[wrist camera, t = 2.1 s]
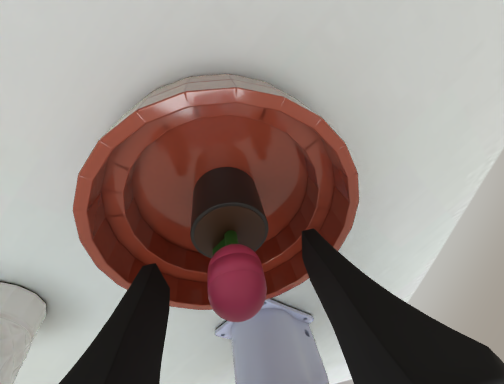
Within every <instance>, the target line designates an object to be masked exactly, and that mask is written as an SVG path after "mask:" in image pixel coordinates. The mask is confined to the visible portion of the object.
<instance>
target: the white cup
mask: <svg viewBox="0 0 504 384" xmlns="http://www.w3.org/2000/svg"><path fill="white" fill-rule="evenodd" d="M45 316H46V304H45V302H44V301H43V300H42V299H41V298H40V297H39V296H38V295H37V294H35V293H33V292H31V291H29V290H26V289H24V288H22V287H20V286H17V285H12V284H7V283H2V282H0V384H13V383H14V381H15V379H16V376H17V374H18V372H19V369H20V368H21V366H22V364H23V362H24V360H25V359H26V356H27V354H28V352H29V349H30V346H31V343H32V341H33V339H34V338H35V336H36V334H37V332H38V330H39V328H40V326H41V324H42V322H43V320H44V318H45Z"/></svg>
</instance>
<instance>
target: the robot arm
mask: <svg viewBox="0 0 504 384" xmlns="http://www.w3.org/2000/svg"><path fill="white" fill-rule="evenodd" d="M302 259H303V262H304V265H305V268H306V271H307V273H308V276H309V278H310V281H311V283H312V285H313V287H314V289H315V291H316V293H317V295H318V297H319V299H320V301H321V303H322V305H323V307H324V309H325V311H326V313H327V316H328V318H329V320H330V322H331V324H332V326H333V329H334V331H335V334H336V336H337V339H338V341H339V344H340V347H341V349H342V352H343V355H344V357H345V360H346V363H347V365H348V368H349V371H350V374H351V376H352V379H353V382H354V384H504V363H503V362H502V361H501V360H500V358H499V357H498V356H496V355H495V354H494V353H493V352H492V351H491V350H490V349H489V347H487V346H485V345H483V344H481V343H479V342H477V341H475V340H473V339H471V338H469V337H467V336H465V335H463V334H461V333H459V332H457V331H455V330H453V329H451V328H449V327H447V326H446V325H444V324H442V323H440V322H438V321H436V320H435V319H433V318H431V317H429V316H428V315H426V314H424V313H423V312H420V311H419V310H418V309H416V308H414V307H412V306H411V305H409V304H408V303H406V302H404V301H403V300H401V299H399V298H398V297H396V296H395V295H393V294H392V293H390V292H389V291H387V290H386V289H384V288H383V287H382V286H380V285H379V284H377V283H376V282H375V281H373V280H372V279H371V278H369V277H368V276H367V275H365V274H364V273H363V272H362V271H360V270H359V269H358V268H357V267H355V266H354V265H353V264H352V263H351V262H349V261H348V260H347V259H346V258H345V257H344V256H343V255H341V254H340V253H339V252H338V251H337V250H336V249H335V248H334V247H333V246H332V245H330V244H329V243H328V242H327V241H326V240H325V239H324V238H323V237H322V236H321V235H320V234H319V233H318V232H317V231H316V230H315V229H314V228H313V229H308V230H304V231H302ZM169 304H170V287H169V285H168V284H167V282H166V280H165V279H164V277H163V275H162V273H161V272H160V270H159V268H158V266H157V265H156V263H154V264H149V265H144V266H142V268H141V269H140V271H139V272H138V274H137V276H136V277H135V279H134V280H133V282H132V284H131V285H130V287H129V289H128V290H127V292H126V293H125V295H124V297H123V298H122V300H121V301H120V303H119V304H118V306H117V307H116V309H115V311H114V312H113V314H112V315H111V317H110V318H109V320H108V321H107V322H106V324H105V325H104V327H103V328H102V330H101V331H100V332H99V334H98V335H97V337H96V338H95V339H94V341H93V342H92V343H91V345H90V346H89V347H88V349H87V350H86V351H85V353H84V354H83V355H82V356H81V358H80V359H79V360H78V361H77V363H76V364H75V365H74V366H73V368H72V369H71V370H70V371H69V372H68V374H67V375H66V376H65V377H64V378H63V379H62V381H61V382H60V383H59V384H159V381H160V369H161V360H162V354H163V348H164V341H165V335H166V328H167V322H168V315H169ZM313 320H314V318H313V316H311V315H309V314H306V313H304V312H301V311H299V310H296V309H294V308H291V307H288V306H286V305H283V304H281V303H278V302H276V301H273V300H271V299H267V300H265V302H264V304H263V306H262V308H261V309H260V311H259V312H258V313H257V314H256V315H255V316H254V317H252V318H251V319H249V320H246V321H243V322H230V321H226V322H225V323H224V324H223V325H221V326H220V327H219V328H218V329H216V330H215V335H216V336H219V337H223V338H227V339H231V340H232V349H233V360H234V372H235V383H236V384H329V381H328V377H327V373H326V371H325V368H324V365H323V362H322V359H321V357H320V354H319V351H318V348H317V345H316V343H315V340H314V337H313V334H312V331H311V329H310V326H309V323H311V322H312V321H313Z"/></svg>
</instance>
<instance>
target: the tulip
mask: <svg viewBox="0 0 504 384" xmlns="http://www.w3.org/2000/svg"><path fill="white" fill-rule="evenodd" d="M268 229H269V227H268V222H267V219H266V216H265V213H264V210H263V207H262V204H261V201H260V198H259V195H258V192H257V189H256V186H255V183H254V181H253V179H252V178H251V177H250V176H249V175H248V174H247V173H245V172H244V171H242V170H240V169H237V168H232V167H220V168H216V169H213V170H210V171H208V172H207V173H205V174H204V175H203V176H202V177H201V178H200V179H199V180H198V181H197V183H196V185H195V187H194V191H193V203H192V217H191V230H190V237H191V241H192V244H193V245H194V247H195V248H196V249H197V250H198V251H199V252H200V253H201V254H203V255H204V256H206V257H209V258H211V260H210V263H209V266H208V272H207V289H208V299H209V302H210V305H211V307H212V308H213V310H214V311H215V313H216V314H217V315H219V316H220V317H221V318H223V319H225V320H227V321H230V322H243V321H246V320H249V319H251V318H252V317H254V316H255V315H256V314H257V313H258V312H259V311H260V309H261V308H262V306H263V304H264V302H265V299H266V293H267V286H266V280H265V276H264V272H263V268H262V264H261V261H260V259H259V257H258V256H257V254H256V253H255V251H256V250H257V249H259V248H260V247H261V246H262V244H263V243H264V241H265V240H266V238H267V235H268Z"/></svg>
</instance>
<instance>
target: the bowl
mask: <svg viewBox="0 0 504 384" xmlns="http://www.w3.org/2000/svg"><path fill="white" fill-rule="evenodd" d="M220 167H232V168H237V169H240V170H242V171H244V172H245V173H247V174H248V175H249V176H250V177H251V178H252V179H253V181H254V183H255V186H256V189H257V192H258V195H259V198H260V201H261V204H262V207H263V210H264V213H265V216H266V219H267V222H268V227H269V229H268V235H267V238H266V240H265V241H264V243H263V244H262V246H261V247H260V248H259V249H257V250H256V251H255V253H256V254H257V256H258V257H259V259H260V261H261V264H262V268H263V272H264V276H265V280H266V286H267V293H266V299H265V300H267V299H270V298H273V297H276V296H278V295H280V294H282V293H284V292H286V291H288V290H290V289H292V288H294V287H296V286H298V285H300V284H301V283H303V282H304V281H306V280H307V279H308V278H309V276H308V273H307V271H306V268H305V265H304V262H303V259H302V231H304V230H308V229H313V228H314V229H315V230H316V231H317V232H318V233H319V234H320V235H321V236H322V237H323V238H324V239H325V240H326V241H327V242H328V243H329V244H330V245H332V246H333V247H334V248H335V249H336V250H337V251H338V250H339V249H340V248H341V246H342V244H343V242H344V241H345V239H346V237H347V235H348V233H349V232H350V230H351V228H352V226H353V222H354V218H355V215H356V211H357V207H358V203H359V189H358V173H357V170H356V167H355V165H354V163H353V160H352V158H351V155H350V153H349V151H348V148H347V146H346V144H345V142H344V141H343V140H342V139H341V138H340V137H339V136H338V135H337V134H336V132H335V131H334V130H333V129H332V128H331V127H330V126H329V125H328V124H327V123H326V122H325V120H324V119H323V118H322V117H320V116H319V115H318V114H316V113H315V112H313V111H312V110H311V109H309V108H308V107H306V106H305V105H304V104H302V103H301V102H299V101H298V100H297V99H295V98H294V97H292V96H290V95H288V94H286V93H285V92H283V91H281V90H279V89H277V88H276V87H274V86H272V85H270V84H269V83H267V82H264V81H260V80H256V79H251V78H246V77H242V76H237V75H232V74H229V75H228V74H219V75H206V76H192V77H188V78H185V79H182V80H180V81H177V82H175V83H172V84H170V85H167V86H164V87H162V88H159V89H157V90H155V91H153V92H151V93H150V94H149V95H148V96H146V97H145V98H144V99H143V100H142V101H140V102H139V103H138V104H137V105H135V106H134V107H133V108H132V109H130V110H129V111H128V112H127V113H126V114H125V115H124V116H123V117H122V118H121V119H120V120H119V121H118V122H117V123H116V124H115V125H113V126H112V127H111V128H110V129H109V130H108V131H107V132H106V133H105V134H104V135H103V136H102V137H101V139H100V140H99V141H98V142H97V144H96V146H95V147H94V149H93V151H92V152H91V154H90V155H89V157H88V159H87V160H86V162H85V164H84V165H83V167H82V169H81V170H80V172H79V175H78V179H77V185H76V191H75V197H74V204H73V214H74V218H75V222H76V227H77V231H78V235H79V239H80V241H81V243H82V245H83V246H84V248H85V249H86V251H87V253H88V254H89V256H90V257H91V259H92V260H93V262H94V263H95V265H96V266H97V267H98V268H99V269H100V270H101V271H102V272H104V273H105V274H106V275H107V276H108V277H109V278H111V279H112V280H113V281H114V282H115V283H116V284H118V285H119V286H121V287H123V288H125V289H127V290H128V289H129V287H130V285H131V284H132V282H133V280H134V279H135V277H136V276H137V274H138V272H139V271H140V269H141V268H142V266H144V265H149V264H154V263H156V265H157V266H158V268H159V270H160V272H161V273H162V275H163V277H164V279H165V280H166V282H167V284H168V285H169V287H170V304H169V306H171V307H179V308H188V309H196V310H212V309H213V308H212V307H211V305H210V302H209V299H208V289H207V272H208V266H209V263H210V260H211V258H209V257H206V256H204V255H203V254H201V253H200V252H199V251H198V250H197V249H196V248H195V247H194V245H193V244H192V241H191V237H190V230H191V217H192V203H193V191H194V187H195V185H196V183H197V181H198V180H199V179H200V178H201V177H202V176H203V175H204V174H205V173H207V172H208V171H210V170H213V169H216V168H220Z"/></svg>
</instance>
